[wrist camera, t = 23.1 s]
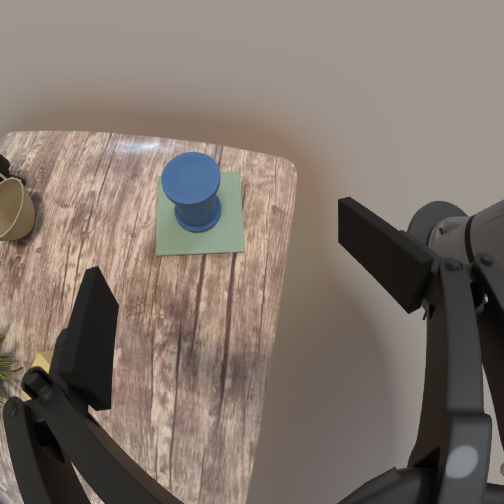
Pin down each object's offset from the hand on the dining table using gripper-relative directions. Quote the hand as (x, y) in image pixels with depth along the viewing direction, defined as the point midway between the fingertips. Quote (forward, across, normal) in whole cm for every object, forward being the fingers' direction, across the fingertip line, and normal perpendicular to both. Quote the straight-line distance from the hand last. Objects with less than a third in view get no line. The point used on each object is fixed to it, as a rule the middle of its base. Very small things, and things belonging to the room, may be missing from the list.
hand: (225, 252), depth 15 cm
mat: (+25, -1, -8) cm, 26 cm away
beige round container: (+31, -30, -2) cm, 43 cm away
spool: (+25, -1, -8) cm, 26 cm away
